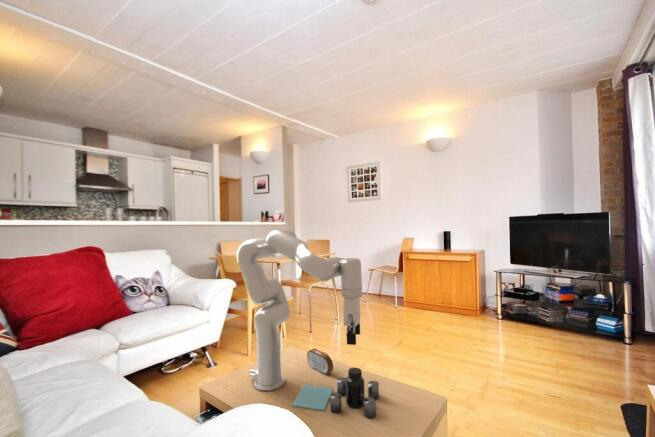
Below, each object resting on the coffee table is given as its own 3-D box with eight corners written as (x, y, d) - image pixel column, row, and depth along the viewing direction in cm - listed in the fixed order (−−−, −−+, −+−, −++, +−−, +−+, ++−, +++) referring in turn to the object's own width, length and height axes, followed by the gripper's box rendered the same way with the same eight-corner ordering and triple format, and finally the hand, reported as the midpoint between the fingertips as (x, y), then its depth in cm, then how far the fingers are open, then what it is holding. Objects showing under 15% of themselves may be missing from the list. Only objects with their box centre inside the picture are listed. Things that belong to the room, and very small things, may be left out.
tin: (333, 375, 132) (333, 355, 132) (328, 377, 130) (328, 358, 130) (311, 363, 143) (310, 345, 143) (306, 366, 141) (305, 347, 141)
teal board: (291, 406, 111) (291, 405, 111) (304, 385, 124) (304, 384, 124) (323, 411, 107) (323, 409, 107) (333, 389, 121) (333, 388, 121)
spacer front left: (329, 412, 106) (328, 398, 106) (331, 406, 110) (331, 392, 110) (340, 414, 105) (340, 400, 105) (342, 407, 109) (342, 393, 109)
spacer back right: (367, 399, 114) (367, 385, 114) (368, 393, 118) (368, 380, 118) (378, 400, 113) (378, 387, 113) (379, 394, 117) (379, 381, 117)
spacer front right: (363, 418, 103) (363, 403, 103) (365, 410, 107) (364, 396, 107) (375, 419, 102) (375, 404, 102) (376, 412, 106) (376, 397, 106)
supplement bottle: (364, 410, 108) (363, 376, 108) (344, 408, 109) (344, 374, 109) (365, 398, 114) (364, 366, 114) (347, 397, 116) (346, 365, 116)
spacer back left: (336, 395, 117) (335, 382, 117) (338, 389, 121) (338, 376, 121) (346, 396, 116) (346, 383, 116) (348, 390, 120) (348, 378, 120)
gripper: (346, 287, 121) (348, 330, 121) (336, 297, 105) (338, 348, 105) (365, 287, 120) (367, 331, 119) (358, 298, 103) (360, 349, 103)
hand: (353, 339), depth 112 cm, fingers open, 9 cm apart
